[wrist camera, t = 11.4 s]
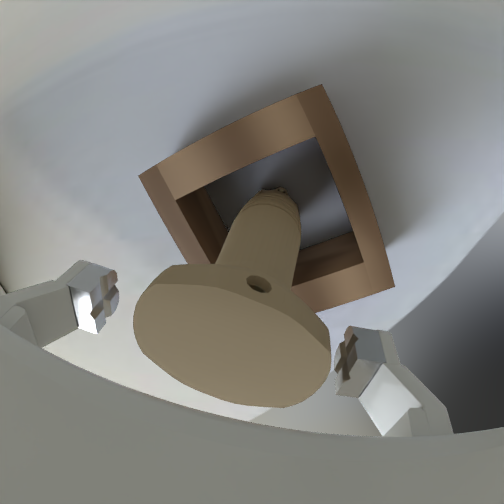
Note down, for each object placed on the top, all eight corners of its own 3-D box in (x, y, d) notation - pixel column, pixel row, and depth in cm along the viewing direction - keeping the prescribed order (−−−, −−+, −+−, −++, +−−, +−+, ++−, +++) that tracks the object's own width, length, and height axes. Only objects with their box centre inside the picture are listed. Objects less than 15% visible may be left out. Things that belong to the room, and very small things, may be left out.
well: (244, 297, 26) (232, 335, 22) (170, 161, 22) (138, 175, 18) (379, 252, 22) (394, 286, 18) (317, 90, 18) (321, 84, 14)
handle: (245, 159, 21) (143, 253, 8) (328, 194, 21) (360, 340, 8) (224, 217, 23) (128, 359, 10) (301, 249, 23) (288, 421, 10)
